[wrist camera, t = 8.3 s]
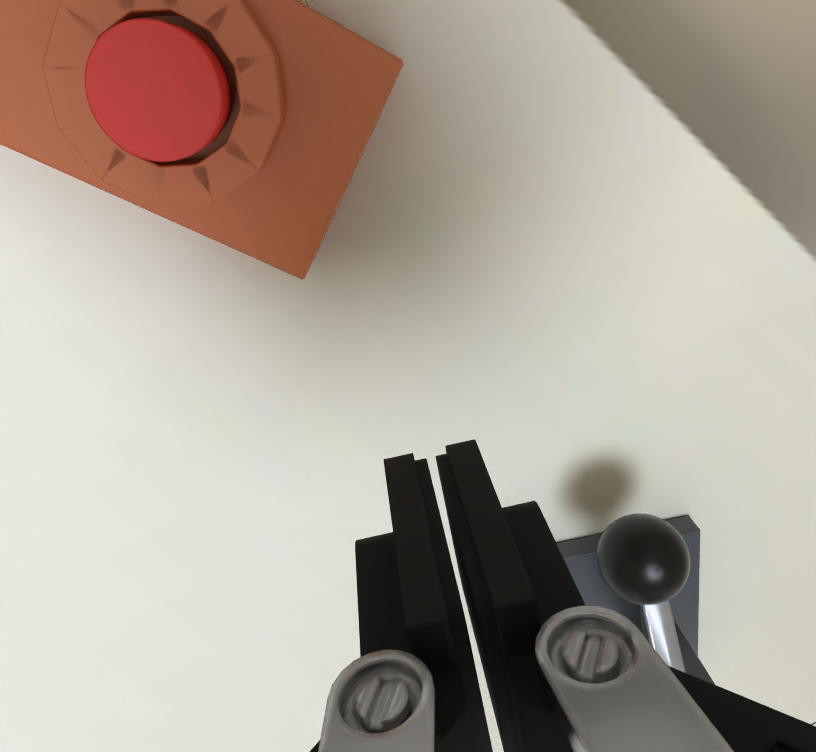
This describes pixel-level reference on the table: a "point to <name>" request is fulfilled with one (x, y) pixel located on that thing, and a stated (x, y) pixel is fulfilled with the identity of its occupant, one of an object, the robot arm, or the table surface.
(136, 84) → the button
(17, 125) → the button box
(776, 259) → the table surface
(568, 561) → the lever bracket
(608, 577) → the press lever
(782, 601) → the table surface
